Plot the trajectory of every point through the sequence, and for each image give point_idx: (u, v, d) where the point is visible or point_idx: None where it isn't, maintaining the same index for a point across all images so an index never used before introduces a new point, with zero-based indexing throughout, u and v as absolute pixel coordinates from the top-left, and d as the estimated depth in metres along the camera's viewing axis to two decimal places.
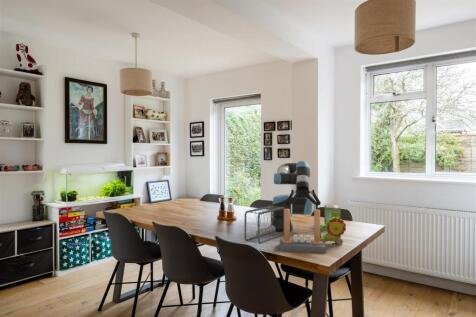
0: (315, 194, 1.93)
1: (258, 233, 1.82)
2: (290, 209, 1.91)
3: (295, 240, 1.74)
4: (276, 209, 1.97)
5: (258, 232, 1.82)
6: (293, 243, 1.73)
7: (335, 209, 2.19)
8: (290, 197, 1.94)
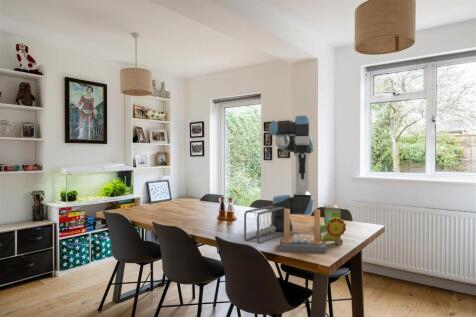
0: (300, 160, 1.67)
1: (257, 233, 1.83)
2: None
3: (295, 240, 1.74)
4: (276, 209, 1.97)
5: (257, 232, 1.83)
6: (293, 243, 1.73)
7: (335, 209, 2.19)
8: None
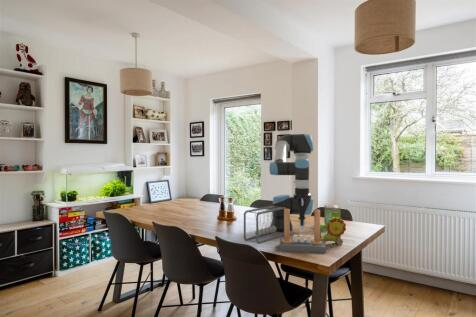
0: (300, 208, 1.69)
1: (257, 233, 1.83)
2: None
3: (295, 240, 1.74)
4: (276, 209, 1.97)
5: (257, 232, 1.83)
6: (293, 243, 1.73)
7: (335, 209, 2.19)
8: (299, 208, 1.78)
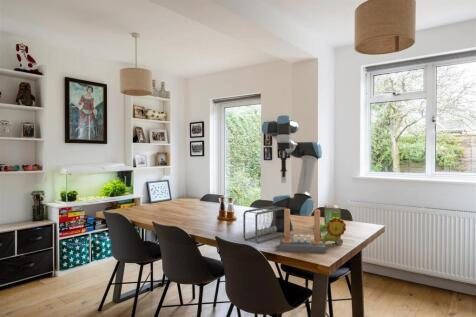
0: (281, 160, 1.83)
1: (256, 233, 1.83)
2: None
3: (295, 240, 1.74)
4: (276, 209, 1.96)
5: (256, 232, 1.83)
6: (293, 243, 1.73)
7: (335, 209, 2.19)
8: None
